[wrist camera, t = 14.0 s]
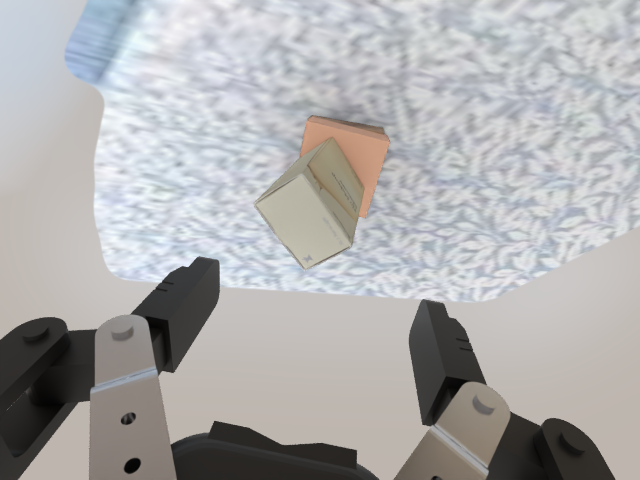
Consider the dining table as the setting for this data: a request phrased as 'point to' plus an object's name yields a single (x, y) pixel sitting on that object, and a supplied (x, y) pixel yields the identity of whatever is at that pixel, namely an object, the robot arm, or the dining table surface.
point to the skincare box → (314, 205)
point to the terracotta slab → (351, 151)
